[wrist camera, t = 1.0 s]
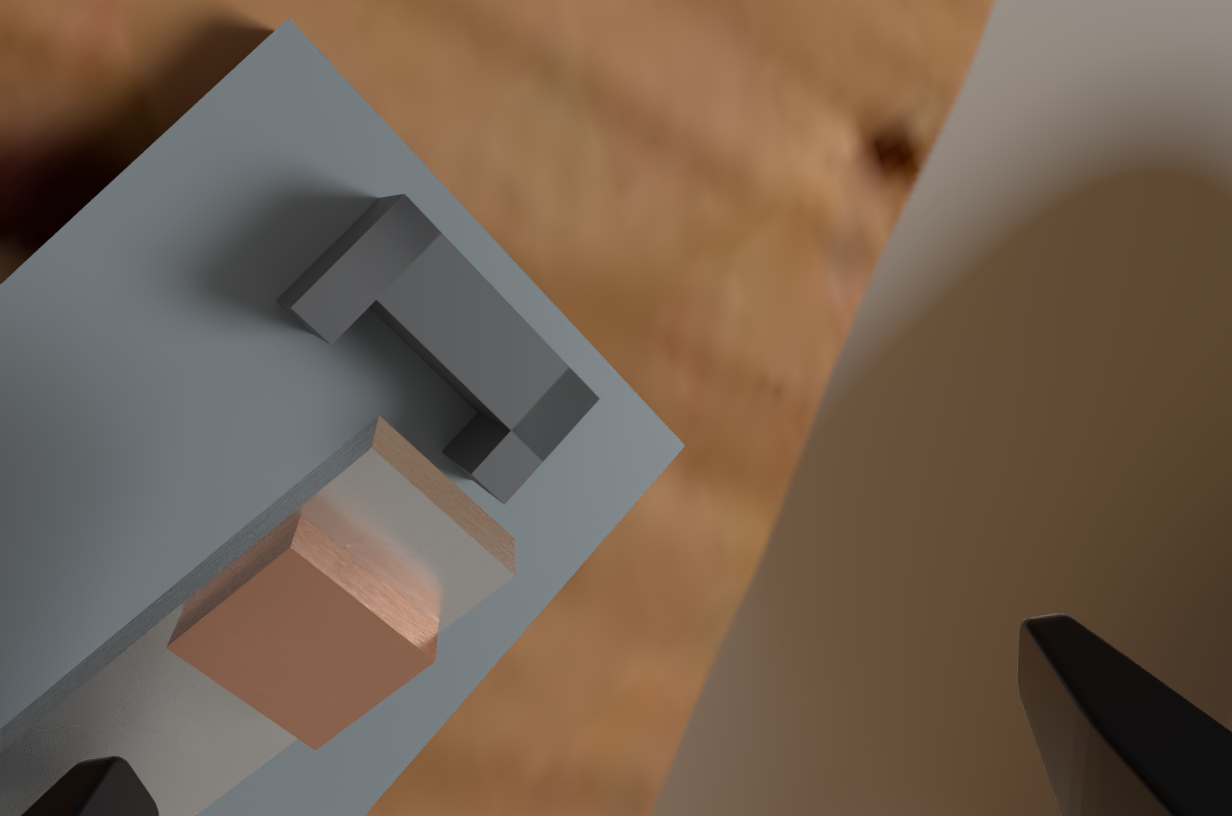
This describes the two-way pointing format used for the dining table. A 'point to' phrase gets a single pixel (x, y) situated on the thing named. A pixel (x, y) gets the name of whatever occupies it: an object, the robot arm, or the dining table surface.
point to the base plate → (288, 394)
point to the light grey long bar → (272, 633)
